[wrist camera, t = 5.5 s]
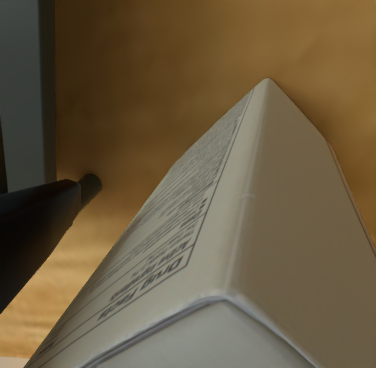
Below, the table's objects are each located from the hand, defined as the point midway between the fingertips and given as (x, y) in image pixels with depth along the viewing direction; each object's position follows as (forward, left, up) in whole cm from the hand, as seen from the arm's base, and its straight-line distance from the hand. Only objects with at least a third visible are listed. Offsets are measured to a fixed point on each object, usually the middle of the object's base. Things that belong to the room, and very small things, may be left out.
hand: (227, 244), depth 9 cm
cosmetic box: (0, 0, -7) cm, 7 cm away
